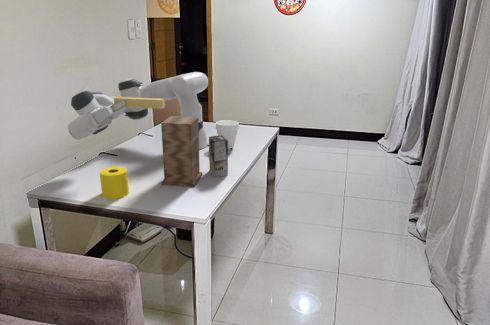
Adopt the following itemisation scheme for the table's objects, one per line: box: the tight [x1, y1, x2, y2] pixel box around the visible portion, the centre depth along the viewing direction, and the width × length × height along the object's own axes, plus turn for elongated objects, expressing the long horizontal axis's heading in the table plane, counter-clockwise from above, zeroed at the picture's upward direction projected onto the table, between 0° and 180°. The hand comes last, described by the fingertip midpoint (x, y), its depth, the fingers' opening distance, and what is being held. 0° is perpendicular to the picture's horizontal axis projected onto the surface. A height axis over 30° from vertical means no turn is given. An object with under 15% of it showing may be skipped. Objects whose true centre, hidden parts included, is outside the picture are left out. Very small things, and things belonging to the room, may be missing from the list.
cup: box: [215, 119, 240, 150], centre depth 214 cm, size 12×12×14 cm
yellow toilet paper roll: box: [99, 166, 130, 200], centre depth 156 cm, size 10×10×9 cm
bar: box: [114, 96, 166, 110], centre depth 163 cm, size 20×4×4 cm, turn 83°
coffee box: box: [208, 135, 229, 178], centre depth 177 cm, size 9×6×16 cm
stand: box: [160, 115, 203, 188], centre depth 168 cm, size 14×14×26 cm
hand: (127, 100), depth 163 cm, fingers closed on bar, 3 cm apart
